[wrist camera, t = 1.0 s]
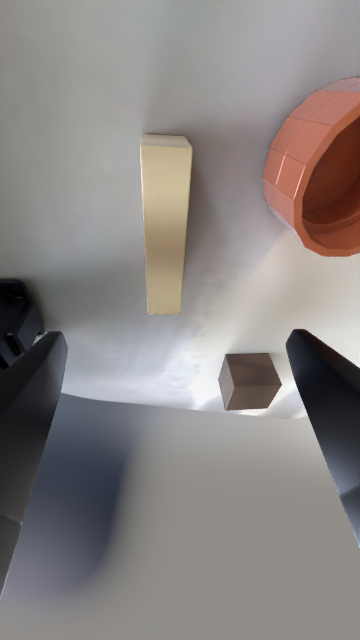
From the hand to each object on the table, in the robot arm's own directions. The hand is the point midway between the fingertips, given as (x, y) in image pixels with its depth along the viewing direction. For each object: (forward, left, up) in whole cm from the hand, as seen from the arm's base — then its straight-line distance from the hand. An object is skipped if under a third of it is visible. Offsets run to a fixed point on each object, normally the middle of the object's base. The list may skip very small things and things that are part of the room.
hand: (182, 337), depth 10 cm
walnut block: (+10, -19, -12) cm, 25 cm away
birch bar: (0, 0, -12) cm, 12 cm away
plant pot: (+10, +4, -12) cm, 16 cm away
